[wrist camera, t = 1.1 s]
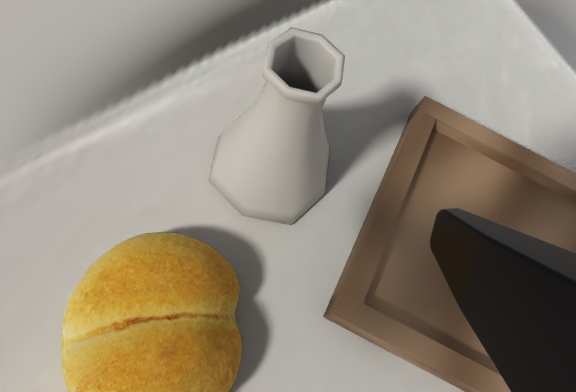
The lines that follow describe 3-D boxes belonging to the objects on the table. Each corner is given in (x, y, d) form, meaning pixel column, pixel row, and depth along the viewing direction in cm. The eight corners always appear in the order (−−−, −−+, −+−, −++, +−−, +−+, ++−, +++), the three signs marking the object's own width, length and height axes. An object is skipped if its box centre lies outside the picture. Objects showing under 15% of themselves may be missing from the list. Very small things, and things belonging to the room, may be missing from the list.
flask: (246, 96, 26) (265, -40, 17) (346, 149, 26) (419, 42, 17) (186, 186, 24) (170, 84, 14) (297, 247, 24) (352, 182, 14)
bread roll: (235, 236, 23) (239, 215, 20) (242, 412, 20) (249, 426, 17) (77, 242, 22) (50, 220, 18) (61, 434, 19) (24, 454, 15)
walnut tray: (607, 214, 28) (635, 205, 26) (569, 446, 22) (602, 455, 20) (411, 112, 28) (425, 95, 26) (323, 316, 22) (333, 314, 21)
